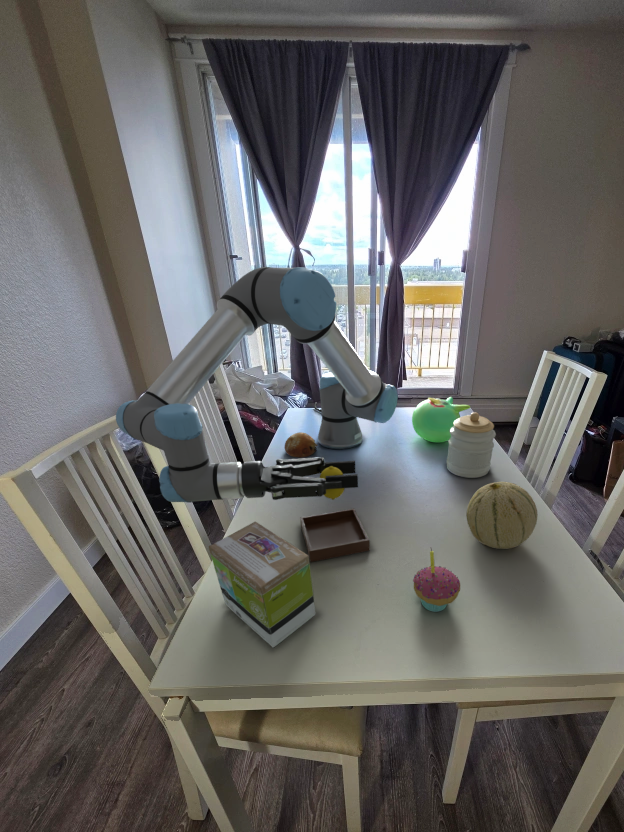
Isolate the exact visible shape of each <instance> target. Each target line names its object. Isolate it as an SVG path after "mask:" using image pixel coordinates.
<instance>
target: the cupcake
mask: <svg viewBox="0 0 624 832" xmlns="http://www.w3.org/2000/svg"><path fill="white" fill-rule="evenodd" d="M429 558H430V560H429V562H430V566H428V567H427V566H426V567H423V568H421V569H420V570H418V571H417V572H416V574H414V575H413V579H412V582H413V590H414V593H415V595H416V596H417V597H418V598H419V599H420V603H421V605H422V606H423V607H424V608H425V610H428V611H430V612H433V613H434V612H437V613H438V612H441V611H444V610H445V609H446V607H447V606H448V605H450V604H452V603H453V602H455V601H456V599H457V598H458V597H459V593H460V592H461V582H460V579H459V578H458V577H459V576H457V575H456V574H455V572H452V570H450V569H448V568H447V567H445V566H444V567H443V566H436V565H435V552H434V551H433V547H430V551H429Z"/></svg>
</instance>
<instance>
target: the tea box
mask: <svg viewBox="0 0 624 832" xmlns="http://www.w3.org/2000/svg"><path fill="white" fill-rule="evenodd" d="M208 550H209V553H210V554H209V555H210V558H211V561H212V565H213V567H214V568H213V569H214V571H215V574H216V577H217V580H218V585H219V587H220V591H221V594H222V598H223V601H224V604H225V605H226V606H227V607H228V609H230V610H231V611H232V612H233V613H234V614H235V615H236V616H237V617H238V618H239V619H240V620H241V621H242V622H244V623H245V624H246V625H247V626H248V627H249V628H250V629H251V630H252V631H254V632H255V633H256V634H257V635H258V636H259V637H260V638H261V639H262V640H263V641H265V642H266V643H267V644H268V645H269V646H271V648H275V647H277V646H278V645H279V644H280V643H281V642H283V641H284V640H285V639H287V638H288V637H290V636H291V635H292V634H293V633H294V632H295V631H297V630H298V629H299V628H301V627H302V626H303V625H305V624H306V623H307V622H308V621H309V620H311V619H312V618H313V617H314V616H315V615H316V607H315V597H314V590H313V582H312V581H313V580H312V574H311V573H312V572H311V562H310V559H309V555H308V553H305V552H304V551H302V550H300V549H299V548H298V547H296V546H295V545H293V544H291V543H290V542H288V541H286V540H285V539H283V538H282V537H280V536H279V535H277V534H276V533H274V532H273V531H271V530H270V529H268V528H266V527H265V526H263V525H262V524H260V523H259V522H257V521H253V522H252V523H249V524H248V525H245V526H244V527H243V528H240V529H239V530H237V531H235V532H233V533H232V534H229V535H227V536H226V537H224V538H221V539H220V540H219V541H216V542H214V543H212V544H211V545H208Z"/></svg>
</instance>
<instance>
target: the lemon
mask: <svg viewBox="0 0 624 832" xmlns="http://www.w3.org/2000/svg"><path fill="white" fill-rule="evenodd" d="M333 475H344V474H343V473H342V472H341V471H340V470H339V469H338V468H336V467H333V466H330V467H328V468H326V469H324V470H323V471H322V473H320V475H319V478H324V479H325V480H326V477H325V476H333ZM345 489H346V488H339V489H326V494H325V495H323V496H324V497H325V498H327V499H330V500H333V501H334V500H336V499H338V498H340V497H341V496H342V495H343V494H344V492H345Z"/></svg>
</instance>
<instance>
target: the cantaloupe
mask: <svg viewBox="0 0 624 832" xmlns="http://www.w3.org/2000/svg"><path fill="white" fill-rule="evenodd" d="M466 521H467V525H468V528H469V531H470V532H471V534H472V536H473V537H474V538H475V539H476V540H477V541H479V543H481V544H483V545H485V546H487V547H489V548H491V549H492V548H493V549H497V550H499V549H501V550H502V549H503V550H504V549H505V550H507V549H513V548H516V547H519V546H520V545H522V544H524V543H525V542H526V541H527V540H528V539H529V538H530V536H531V535H533V533H534V531H535V529H536V526H537V522H538V508H537V504H536V502H535V501H534V498H533V497H532V496H531V494H530V493H529V492H528V491H527V490H526V489H525V488H523V487H521V486H520V485H518V484H515V483H513V482H509V481H497V482H490V483H488V484H485V485H483V486H481V487H480V488H478V489H476V491H475V492H474V493H473V495H472V496H471V498H470V500H469V502H468V504H467V508H466Z"/></svg>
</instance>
